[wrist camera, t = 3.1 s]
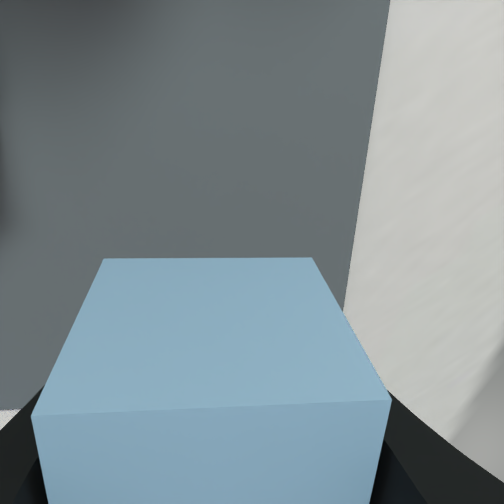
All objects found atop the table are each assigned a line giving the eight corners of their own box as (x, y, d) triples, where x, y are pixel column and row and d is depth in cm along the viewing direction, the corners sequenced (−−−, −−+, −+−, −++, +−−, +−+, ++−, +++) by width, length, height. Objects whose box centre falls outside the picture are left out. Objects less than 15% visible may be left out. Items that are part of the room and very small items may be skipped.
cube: (294, 412, 13) (346, 604, 8) (119, 421, 12) (74, 631, 8) (311, 257, 11) (392, 399, 6) (103, 258, 10) (31, 416, 6)
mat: (328, 391, 22) (329, 396, 22) (-162, 411, 19) (-167, 416, 19) (431, -295, 12) (436, -303, 12) (-535, -440, 10) (-556, -454, 9)
